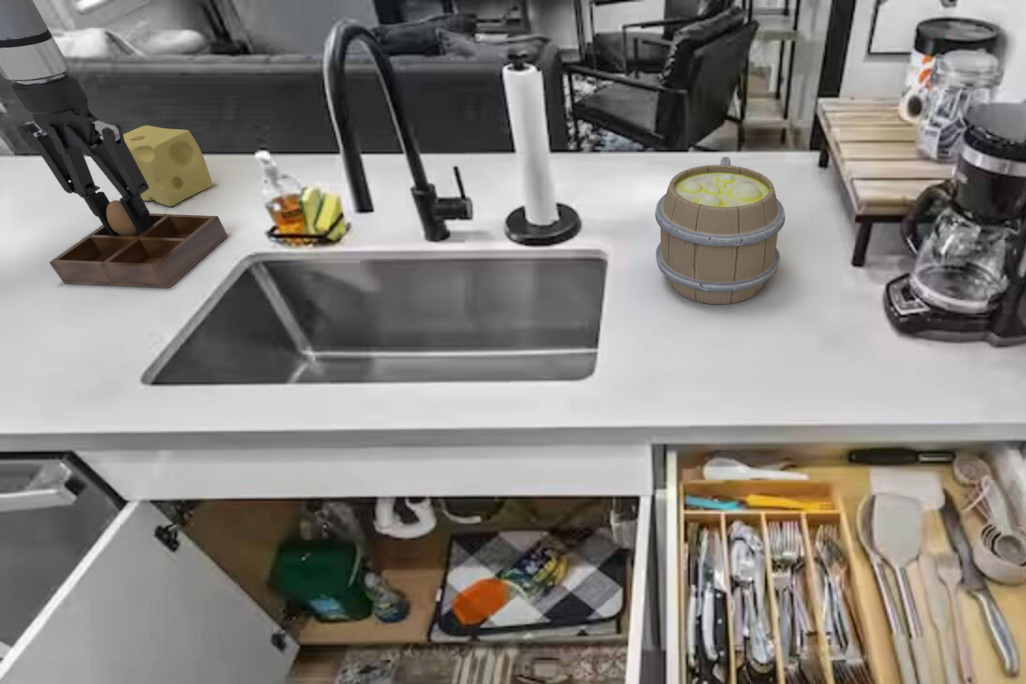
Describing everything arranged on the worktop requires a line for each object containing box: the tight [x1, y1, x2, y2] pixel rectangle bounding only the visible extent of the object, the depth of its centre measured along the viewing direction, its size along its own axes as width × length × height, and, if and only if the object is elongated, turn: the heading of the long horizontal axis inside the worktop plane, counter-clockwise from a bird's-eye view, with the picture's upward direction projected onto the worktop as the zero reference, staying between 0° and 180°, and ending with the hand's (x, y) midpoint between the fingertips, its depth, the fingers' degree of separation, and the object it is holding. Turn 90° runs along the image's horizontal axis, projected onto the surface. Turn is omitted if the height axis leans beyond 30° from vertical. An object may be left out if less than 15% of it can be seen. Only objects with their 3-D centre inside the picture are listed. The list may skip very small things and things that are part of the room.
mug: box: [654, 156, 786, 306], centre depth 100 cm, size 19×25×15 cm
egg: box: [106, 199, 140, 237], centre depth 106 cm, size 4×4×6 cm
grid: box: [49, 212, 229, 289], centre depth 105 cm, size 16×16×4 cm
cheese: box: [123, 124, 214, 207], centre depth 120 cm, size 10×11×10 cm
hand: (134, 235), depth 107 cm, fingers closed on egg, 4 cm apart
